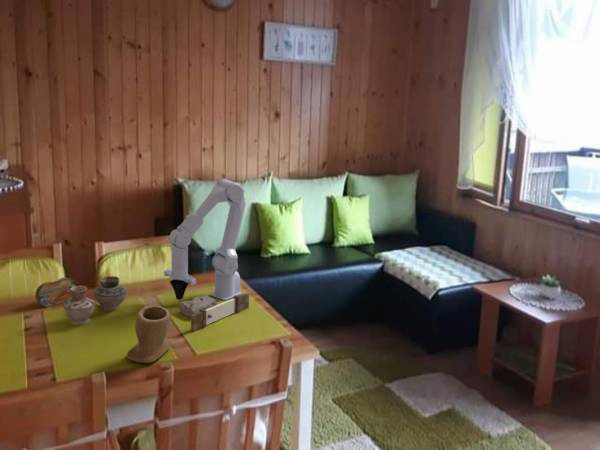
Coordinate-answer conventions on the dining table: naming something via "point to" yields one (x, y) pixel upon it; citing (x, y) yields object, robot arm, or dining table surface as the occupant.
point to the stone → (197, 305)
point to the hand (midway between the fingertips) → (179, 298)
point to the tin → (55, 292)
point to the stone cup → (151, 334)
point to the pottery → (105, 295)
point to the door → (220, 311)
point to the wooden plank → (200, 317)
